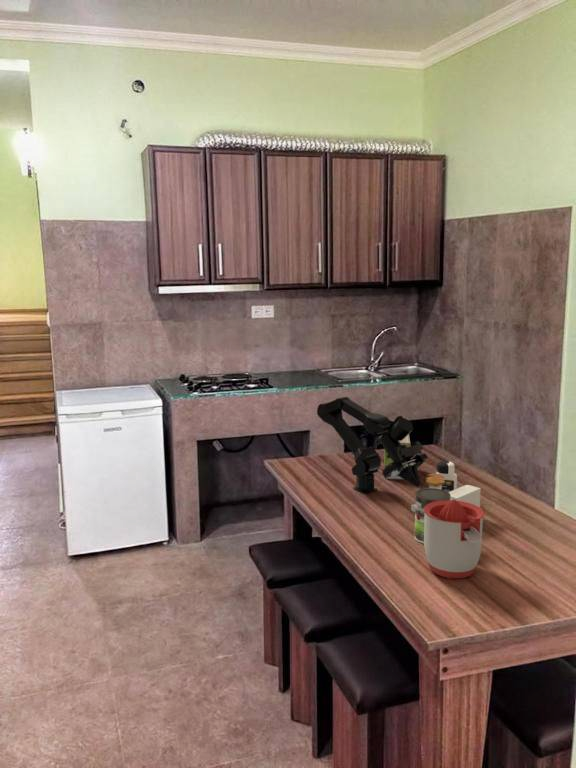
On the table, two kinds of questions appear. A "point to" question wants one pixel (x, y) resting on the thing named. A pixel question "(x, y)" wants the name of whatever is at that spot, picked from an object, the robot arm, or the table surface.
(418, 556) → the table surface
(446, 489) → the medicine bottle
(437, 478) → the knob
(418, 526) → the coffee can
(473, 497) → the knob mount
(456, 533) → the citrus juicer
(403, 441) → the tea box
